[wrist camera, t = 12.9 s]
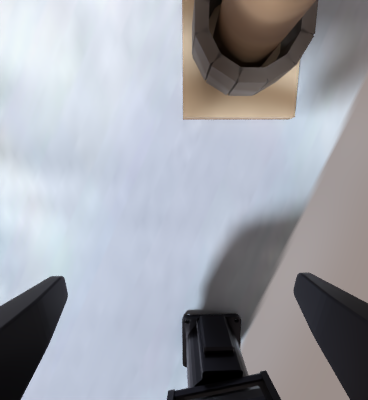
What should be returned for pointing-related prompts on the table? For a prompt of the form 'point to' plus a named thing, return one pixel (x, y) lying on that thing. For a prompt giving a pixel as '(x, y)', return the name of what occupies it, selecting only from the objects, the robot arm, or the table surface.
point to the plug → (255, 28)
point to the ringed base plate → (238, 70)
